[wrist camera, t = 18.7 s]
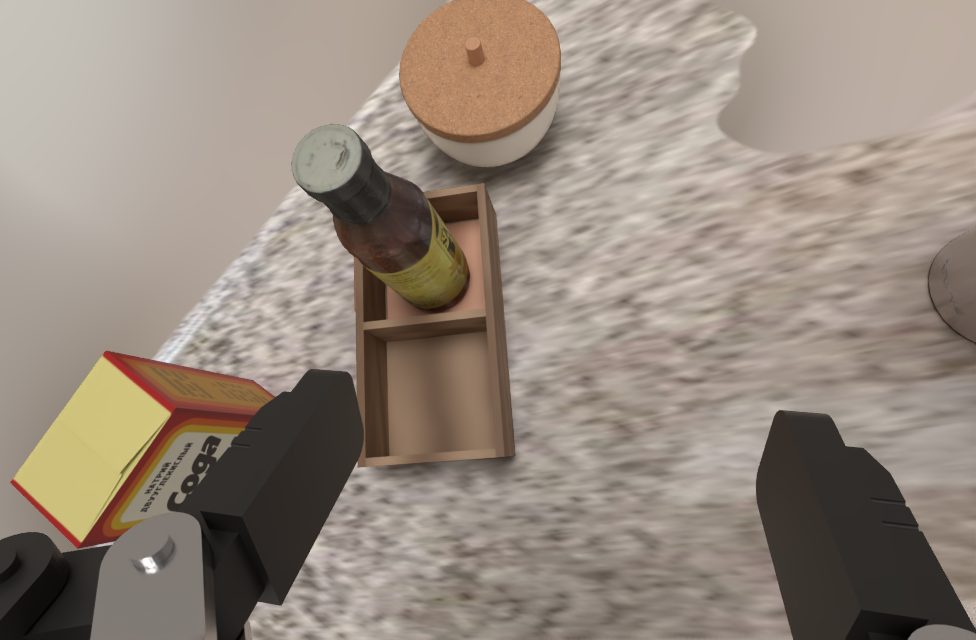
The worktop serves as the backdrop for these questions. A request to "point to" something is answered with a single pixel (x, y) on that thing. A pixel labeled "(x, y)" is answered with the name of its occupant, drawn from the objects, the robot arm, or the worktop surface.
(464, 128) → the white lidded bowl
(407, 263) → the sauce bottle
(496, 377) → the wooden compartment tray
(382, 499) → the worktop surface
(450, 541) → the worktop surface
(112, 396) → the baking soda box
